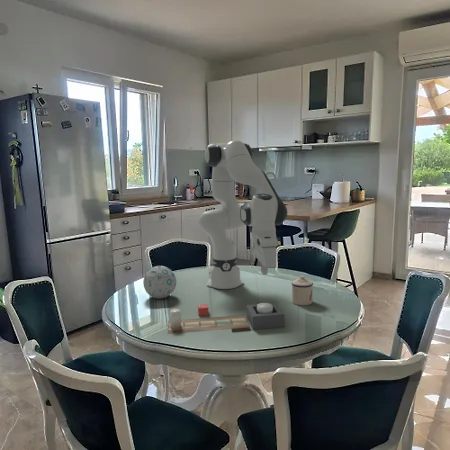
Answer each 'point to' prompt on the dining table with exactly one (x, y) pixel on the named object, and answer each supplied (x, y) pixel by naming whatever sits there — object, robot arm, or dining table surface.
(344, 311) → the dining table surface
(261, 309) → the push dome
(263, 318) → the dome housing
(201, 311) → the die
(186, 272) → the dining table surface
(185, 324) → the board
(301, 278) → the teacup with lid
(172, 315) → the pawn
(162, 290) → the puzzle ball
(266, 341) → the dining table surface
